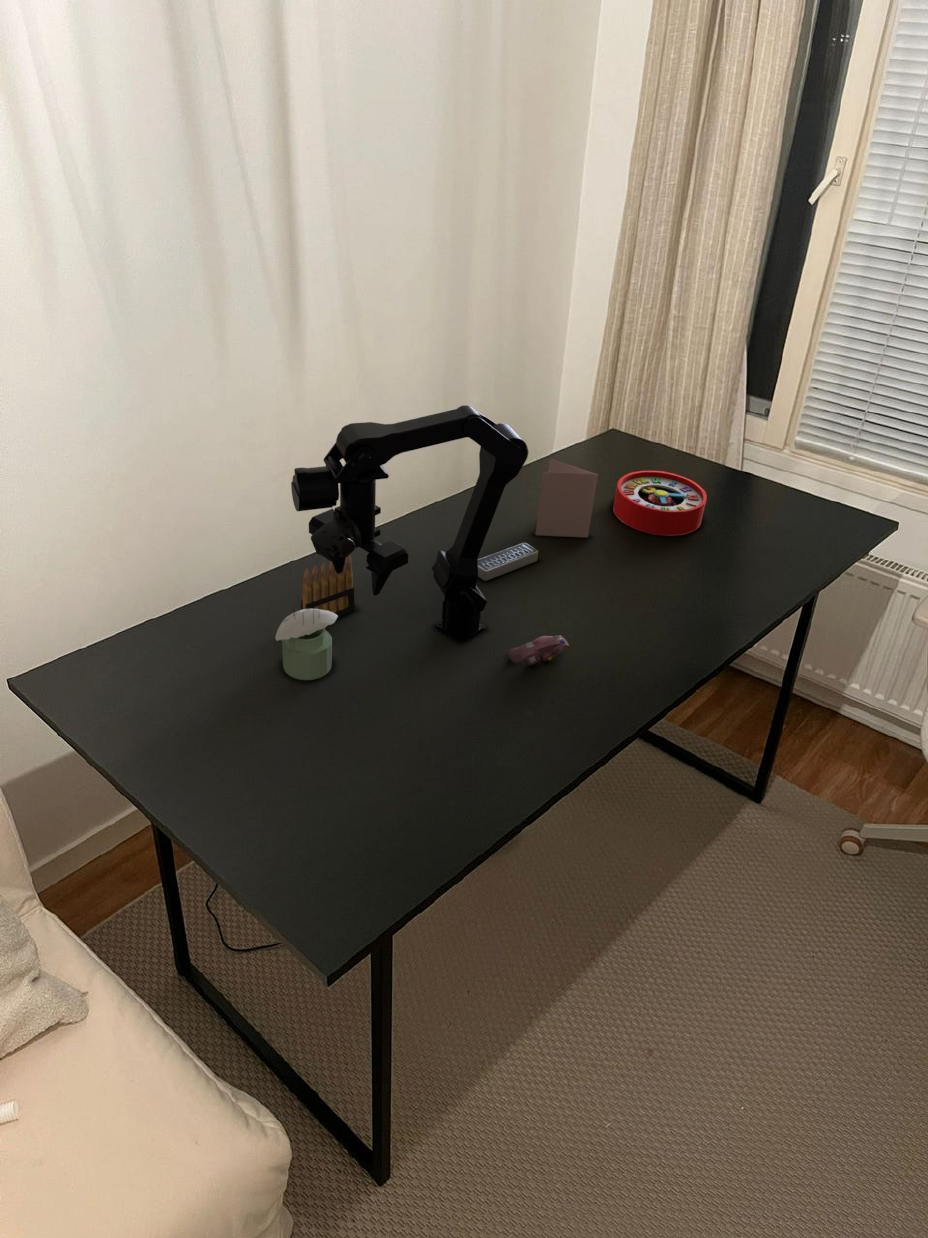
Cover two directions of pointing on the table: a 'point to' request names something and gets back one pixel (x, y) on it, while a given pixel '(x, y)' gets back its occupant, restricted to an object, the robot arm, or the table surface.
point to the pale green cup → (308, 655)
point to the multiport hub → (506, 561)
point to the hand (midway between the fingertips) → (357, 583)
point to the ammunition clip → (329, 589)
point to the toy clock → (659, 503)
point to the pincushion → (304, 623)
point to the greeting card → (566, 501)
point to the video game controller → (539, 649)
